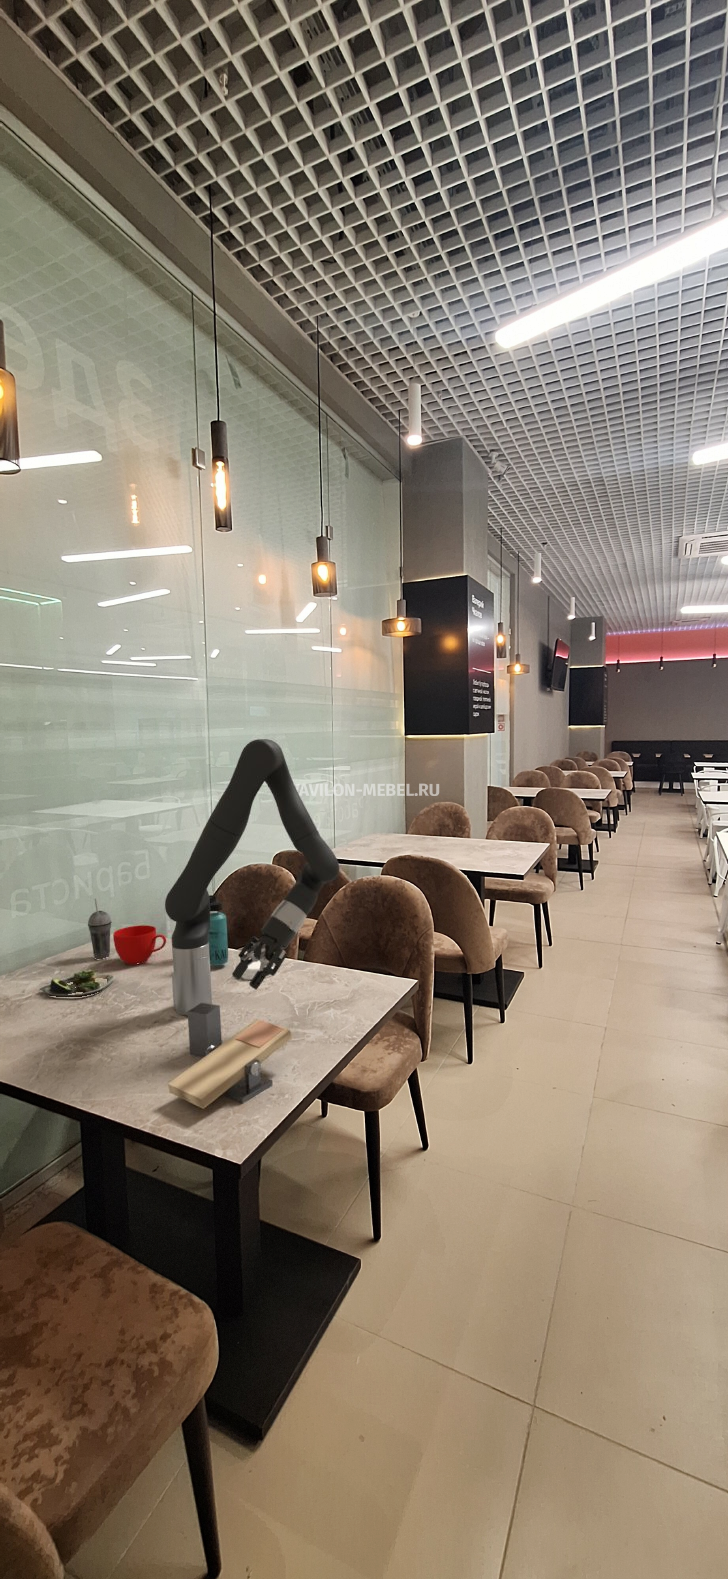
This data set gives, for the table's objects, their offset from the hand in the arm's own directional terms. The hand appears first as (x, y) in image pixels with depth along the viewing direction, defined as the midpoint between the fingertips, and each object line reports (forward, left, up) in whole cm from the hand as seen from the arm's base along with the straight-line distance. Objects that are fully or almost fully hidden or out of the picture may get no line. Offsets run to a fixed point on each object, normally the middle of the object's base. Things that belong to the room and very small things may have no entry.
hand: (243, 982), depth 154 cm
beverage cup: (-85, +14, -14) cm, 87 cm away
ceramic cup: (-70, +19, -14) cm, 73 cm away
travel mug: (-55, +34, -14) cm, 66 cm away
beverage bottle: (-45, +29, -14) cm, 55 cm away
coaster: (-30, +31, -14) cm, 45 cm away
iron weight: (-3, -10, -13) cm, 17 cm away
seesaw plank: (+13, -16, -8) cm, 22 cm away
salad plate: (-65, -5, -14) cm, 67 cm away
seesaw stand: (+13, -16, -13) cm, 25 cm away
